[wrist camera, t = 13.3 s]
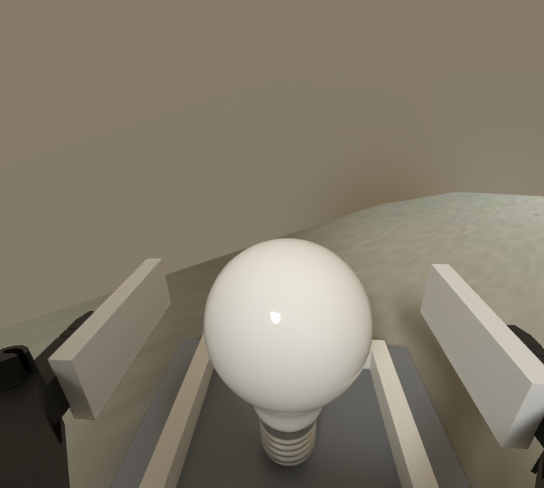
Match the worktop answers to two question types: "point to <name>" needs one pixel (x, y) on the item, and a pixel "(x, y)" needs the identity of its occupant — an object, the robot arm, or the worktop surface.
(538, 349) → the robot arm
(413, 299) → the worktop surface
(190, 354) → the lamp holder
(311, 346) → the lightbulb
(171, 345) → the worktop surface
